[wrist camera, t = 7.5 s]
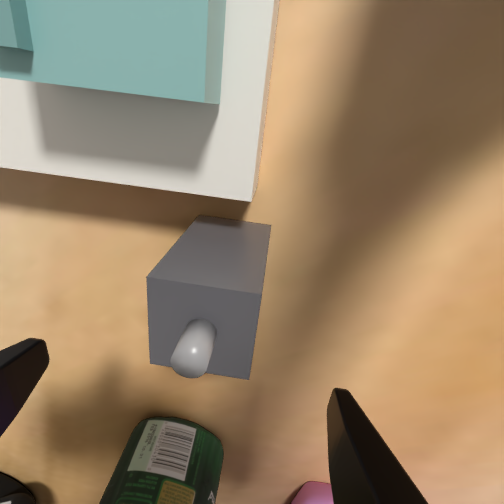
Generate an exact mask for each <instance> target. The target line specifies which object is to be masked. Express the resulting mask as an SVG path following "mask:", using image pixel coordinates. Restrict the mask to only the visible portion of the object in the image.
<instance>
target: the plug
mask: <svg viewBox="0 0 504 504" xmlns="http://www.w3.org/2000/svg"><path fill="white" fill-rule="evenodd" d="M270 231H271V225H267V224H260V223H253V222H246V221H239V220H232V219H225V218H218V217H211V216H204V215H199V216H198V217H197V218H196V219H195V220H194V222H193V223H192V224H191V225H190V226H189V227H188V229H187V230H186V231H185V232H184V233H183V235H182V236H181V237H180V238H179V239H178V240H177V242H176V243H175V244H174V245H173V246H172V247H171V249H170V250H169V251H168V252H167V253H166V255H165V256H164V257H163V258H162V259H161V260H160V262H159V263H158V264H157V265H156V266H155V267H154V269H153V270H152V271H151V272H150V273H149V275H148V276H147V302H148V327H149V352H150V364H155V365H161V366H168V367H172V368H173V370H174V371H175V372H176V373H178V374H179V375H181V376H183V377H186V378H198V377H200V376H202V375H203V374H204V373H210V374H216V375H222V376H228V377H234V378H240V379H246V380H249V377H250V370H251V364H252V357H253V350H254V344H255V337H256V330H257V324H258V317H259V310H260V303H261V297H262V290H263V282H264V275H265V268H266V260H267V253H268V245H269V238H270Z"/></svg>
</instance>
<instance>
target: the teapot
mask: <svg viewBox="0 0 504 504" xmlns="http://www.w3.org/2000/svg"><path fill="white" fill-rule="evenodd" d="M291 504H334V503H333V496H332V489H331V484H328V483H322V482H315V481H310V482H307V483H306V484H304V485H303V487H302V488H301V489H300V491H299V492H298V493H297V495H296V496H295V498H294V499H293V501H292V502H291Z"/></svg>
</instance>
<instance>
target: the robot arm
mask: <svg viewBox="0 0 504 504" xmlns="http://www.w3.org/2000/svg"><path fill="white" fill-rule="evenodd" d="M48 364H49V355H48V350H47V346H46V342H45V341H44V340H42V339H37V338H28V339H26V340H24V341H21V342H19V343H17V344H15V345H12V346H10V347H8V348H6V349H3V350H1V351H0V437H1V435H2V434H3V433H4V432H5V430H6V429H7V428H8V426H9V425H10V424H11V422H12V421H13V420H14V418H15V417H16V415H17V414H18V413H19V411H20V410H21V408H22V407H23V405H24V403H25V402H26V400H27V399H28V397H29V395H30V394H31V392H32V391H33V389H34V388H35V386H36V384H37V383H38V381H39V380H40V378H41V376H42V375H43V373H44V372H45V370H46V369H47V367H48ZM327 432H328V459H329V473H330V482H331V489H332V496H333V503H334V504H428V502H427V501H426V500H425V498H424V497H423V495H422V494H421V492H420V491H419V490H418V488H417V487H416V485H415V484H414V483H413V481H412V480H411V478H410V477H409V475H408V474H407V473H406V471H405V470H404V468H403V467H402V466H401V464H400V463H399V461H398V460H397V458H396V457H395V456H394V454H393V453H392V451H391V450H390V449H389V447H388V446H387V444H386V443H385V441H384V440H383V439H382V437H381V436H380V434H379V433H378V432H377V430H376V429H375V427H374V426H373V424H372V423H371V422H370V420H369V419H368V417H367V416H366V415H365V413H364V412H363V410H362V409H361V407H360V406H359V405H358V403H357V402H356V400H355V399H354V398H353V396H352V395H351V393H350V392H349V391H348V390H346V389H341V388H334V389H333V391H332V394H331V397H330V400H329V403H328V407H327Z"/></svg>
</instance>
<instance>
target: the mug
mask: <svg viewBox="0 0 504 504" xmlns="http://www.w3.org/2000/svg"><path fill="white" fill-rule="evenodd" d="M0 504H36V502H35V500H34V498H33V496H32V495H31V493H30V492H29V491H28V490H27V489H26V488H25V487H24V486H22V485H21V484H20V483H18V482H17V481H15V480H13V479H12V478H10V477H8V476H6V475H3V474H1V473H0Z"/></svg>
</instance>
